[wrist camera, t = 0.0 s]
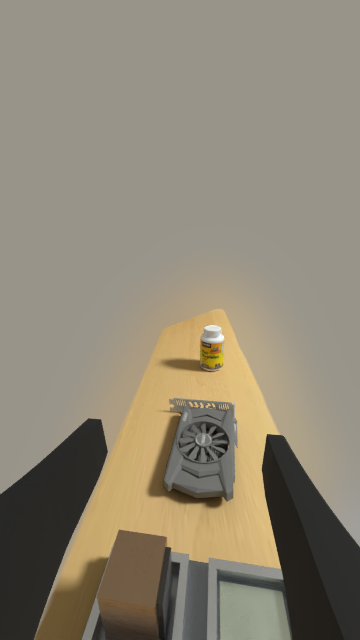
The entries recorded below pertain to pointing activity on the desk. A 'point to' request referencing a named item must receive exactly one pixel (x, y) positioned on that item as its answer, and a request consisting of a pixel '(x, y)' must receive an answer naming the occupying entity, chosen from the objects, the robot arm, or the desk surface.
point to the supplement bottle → (212, 348)
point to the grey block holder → (184, 596)
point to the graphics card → (203, 450)
